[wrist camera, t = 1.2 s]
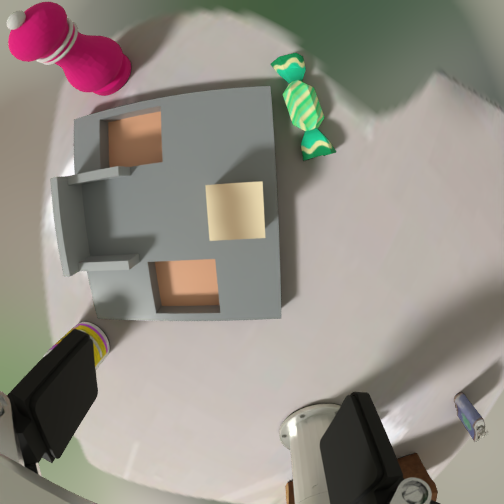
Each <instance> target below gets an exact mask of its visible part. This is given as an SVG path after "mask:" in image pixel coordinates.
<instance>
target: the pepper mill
mask: <svg viewBox="0 0 504 504" xmlns="http://www.w3.org/2000/svg"><path fill="white" fill-rule="evenodd" d="M7 27H8V28H9V29H11V32H10V35H9V41H8V43H9V49H10V51H11V53H12V55H14V56H15V57H16V58H17V59H19V60H22V61H28V62H29V61H34V60H36V61H38V62H41V63H43V64H46V65H50V64H53V63H55V64H57V65H59V66H60V67H62V69H63V70H64V73H65V75H66V77H67V79H68V81H69V82H70V84H71V85H72V86H73V87H75V88H76V89H78V90H80V91H82V92H94V93H96V94H98V95H102V96H105V95H110V94H113V93H115V92H116V91H118V90H119V89H120V88H121V87H122V86H123V85H124V84H125V83H126V82H127V80H128V78H129V76H130V73H131V62H130V60H129V59H128V57H127V56H125V55H124V54H123V53H122V50H121V47H120V46H119V45H118V44H117V43H116V42H115V41H113V40H112V39H110V38H107V37H103V36H88V35H83V34H81V33H79V32H78V27H77V25H76V23H74V22H72V21H71V20H70V19H69V18H67V15H66V12H65V10H64V9H63V8H62V7H61V6H60V5H58V4H56V3H53V2H42V3H39V4H36V5H34V6H32V7H30V8H29V9H27V10H26V11H25V12H23V11H16V12H14V13H12V14H11V15H10V16H9V18H8V20H7Z"/></svg>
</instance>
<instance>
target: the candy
mask: <svg viewBox="0 0 504 504" xmlns="http://www.w3.org/2000/svg"><path fill="white" fill-rule="evenodd" d="M271 66H272V67H273V68H274V69H275V70H276V71H277V73H278V74H279V75H280V76H281V77H282V78H283V79H285V80H286V81H287V82H288V83H289V85H288V87H287V88H286V90H285V91H284V93H283V97H284V100H285V103H286V106H287V109H288V111H289V114H290V117H291V120H292V123H293V125H294V126H296V127H298V128H300V129H302V130H304V131H305V133H304V136H303V139H302V143H301V149H302V156H303V161H304V160H309V159H310V158H314V157H318V156H321V155H323V156H325V155H329V154H332V153H336V150H335V149H334V148H333V146H332V145H331V143H330V142H329V140H328V139H327V138H326V137H325V136H324V135H323V134H322V133H321V132H320V131H319V129H318V128H319V126H320V124H321V123H322V121H323V119H324V115H323V112H322V109H321V106H320V103H319V100H318V97H317V95H316V92H315V89H314V87H312V86H310V85H308V84H306V83H304V82H302V80H303V77H304V74H305V70H306V68H305V64H304V59H303V56H301V55H299V54H298V53H293V54H288V55H284V56H280V57H278V58H277V59H276V60H275V61H274V62H272V63H271Z"/></svg>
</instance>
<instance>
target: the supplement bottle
mask: <svg viewBox="0 0 504 504" xmlns="http://www.w3.org/2000/svg"><path fill="white" fill-rule="evenodd" d="M73 329H78V330H80V331H83V332H85V333H88V334H89V336H90V339H92V340H93V346H94V359H95V370H96V369H97V368H98V367H99V366H100V364H101V363H102V362H103V361H104V359H105V358H106V357H107V355H108V353H109V348H110V347H109V342H108V339H107V337H106V335H105V334H104V332H103V331H102V330H101V329H100V328H99V327H97V326H96V325H94V324H92V323H90V322H81V323H78V324H77V325H76V326H75V327H73V328H72V329H71V330H70V331H69V332H68V333H67V334H66V335H65V336H64V337H63V338H61V339H60V340H59V341H58V342H57V343H56V344H55V345H54V346H53V347H52V348H51V349H49V350H48V351H47V352H46V353H45V355H44V356H46V355H47V354H48V353H49V352H50V351H51V350H52V349H53V348H54V347H55V346H56V345H57V344H59V343H60V342H61V341H62V340H63V339H64V338H65V337H66V336H67V335H68V334H69V333H70V332H71V331H72V330H73Z"/></svg>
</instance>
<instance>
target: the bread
mask: <svg viewBox="0 0 504 504" xmlns="http://www.w3.org/2000/svg"><path fill="white" fill-rule="evenodd" d="M397 461H398V463H399V465H400V468H401V470H402V473H403V478H404V480H405V479H407V478H410V477H412V478H419V479H421V480H423V481H425V482H426V483H427V484H428V485H429V487H430V489H431V493H432V497H431V500H433V501H435V502H436V498H437V493H438V491H437V488H436V485H435V483H434V482H433V480H432V479H431V478H430V476H429V474H428V473H427V471H426V469H425V467H424V466H423V464H422V462H421V460H420V458H419V456H418V454H417V453H414V454H411V455H408V456H405V457H402V458H399V459H397ZM286 501H287V504H295V498H294V486H293V481H290V482H288V483H287V485H286Z"/></svg>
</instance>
